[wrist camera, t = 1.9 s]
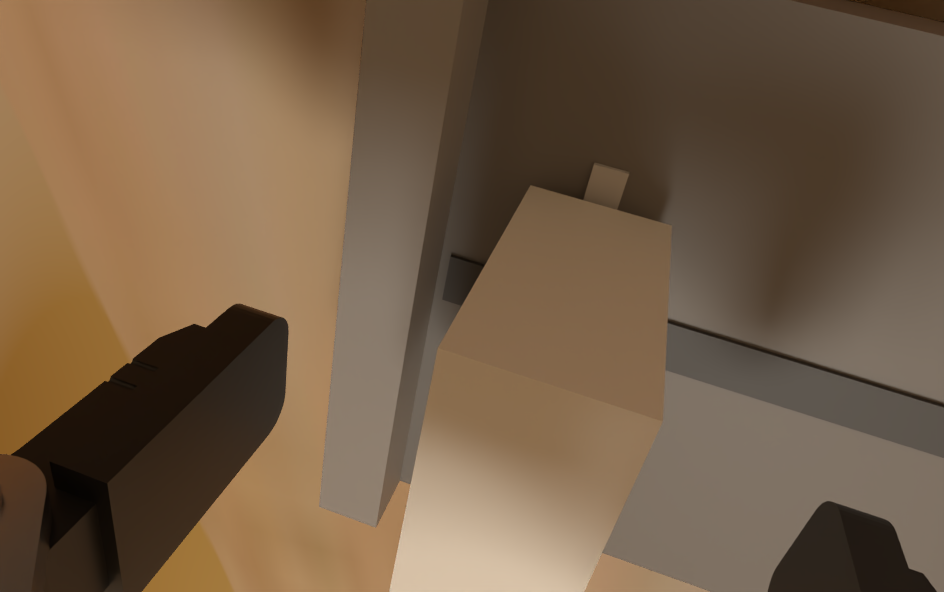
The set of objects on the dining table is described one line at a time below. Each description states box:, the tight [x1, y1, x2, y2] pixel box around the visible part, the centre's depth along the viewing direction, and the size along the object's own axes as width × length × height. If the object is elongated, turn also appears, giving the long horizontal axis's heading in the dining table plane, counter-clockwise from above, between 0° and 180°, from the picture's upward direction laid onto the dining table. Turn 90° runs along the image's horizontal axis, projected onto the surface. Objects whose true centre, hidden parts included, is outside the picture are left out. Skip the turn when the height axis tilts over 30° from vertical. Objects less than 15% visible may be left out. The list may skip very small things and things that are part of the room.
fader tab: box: [389, 185, 672, 592], centre depth 10 cm, size 5×2×5 cm, turn 169°
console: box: [319, 0, 944, 592], centre depth 12 cm, size 12×22×4 cm, turn 79°
